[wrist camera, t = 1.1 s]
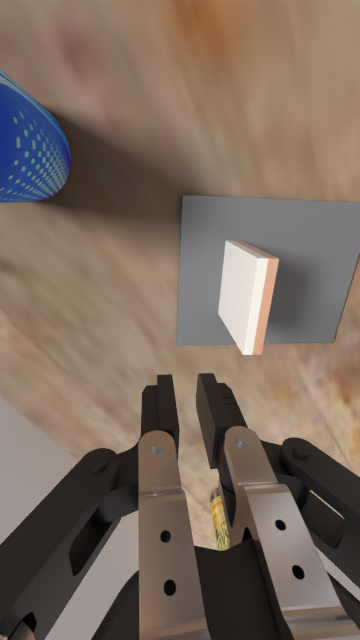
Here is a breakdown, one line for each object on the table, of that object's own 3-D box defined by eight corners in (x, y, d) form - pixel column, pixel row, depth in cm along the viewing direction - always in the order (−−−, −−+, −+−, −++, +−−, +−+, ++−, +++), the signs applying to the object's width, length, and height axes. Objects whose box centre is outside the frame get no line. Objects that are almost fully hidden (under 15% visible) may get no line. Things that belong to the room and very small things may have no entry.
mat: (182, 194, 29) (182, 194, 29) (370, 203, 32) (374, 203, 31) (176, 343, 37) (176, 345, 36) (330, 340, 39) (332, 342, 39)
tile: (225, 240, 31) (257, 258, 22) (241, 240, 31) (279, 258, 22) (218, 313, 35) (243, 354, 26) (231, 313, 35) (261, 354, 26)
